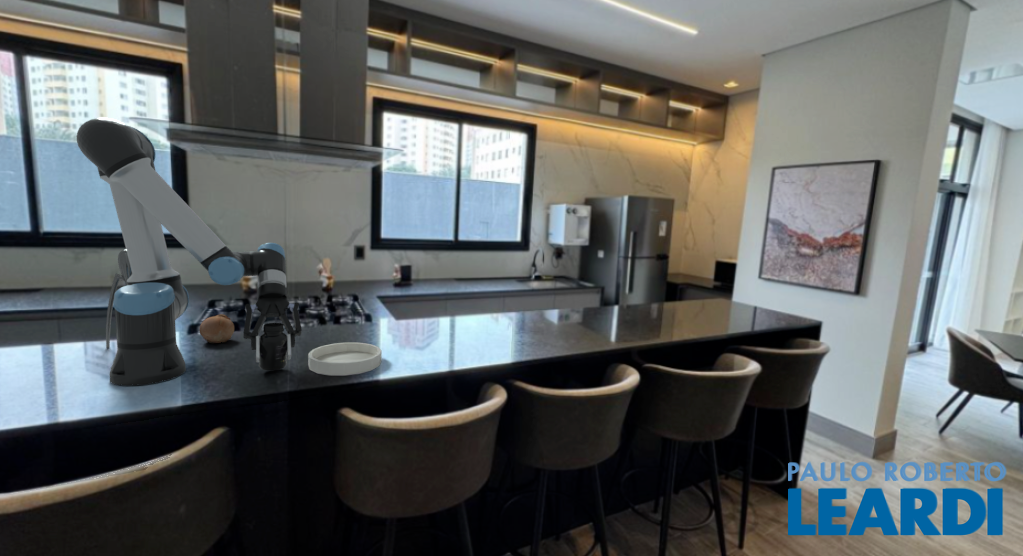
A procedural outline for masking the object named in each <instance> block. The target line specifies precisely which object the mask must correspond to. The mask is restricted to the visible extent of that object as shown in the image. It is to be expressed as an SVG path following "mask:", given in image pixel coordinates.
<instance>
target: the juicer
mask: <svg viewBox="0 0 1023 556" xmlns="http://www.w3.org/2000/svg"><path fill="white" fill-rule="evenodd" d="M117 263H118V269H119V271H120V273H119V274H118V273H115V274H114V277H113V281H112V284H111V287H110V292H109V297H108V303H107V304H108V305H107V312H106V325H105V347H106V349H108V348H111V347H110V345H111V344H110V342H111V340H110V339H111V324H112V314H113V308H114V306H113V305H114V304H113V302H114V295H115V292H116V291H117V290H118V285H119V282H121V281H122V282H124V283H125V286H127V285H128V284H127V280H128V279H129V277H130V276H131V275H132V270H131V266H130V262H129V258H128V254H127V250H126V249H122V250H121V251H119V253H118V256H117Z"/></svg>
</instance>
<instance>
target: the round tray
mask: <svg viewBox="0 0 1023 556" xmlns="http://www.w3.org/2000/svg"><path fill="white" fill-rule="evenodd" d="M307 360H308V362H307V363H308V365H307V366H308V369H309V370H310V371H312V372H314V373H316V374H319V375H325V376H351V375H359V374H364V373H367V372H370V371H373V370H375V369H377V368H378V367H380V365H381V364H382V349H381V348H380V347H379V346H377V345H374V344H371V343H365V342H338V343H337V342H336V343H331V344H326V345H321V346H318V347H316V348H313V349H312V350H310V351H309V352H308V355H307Z"/></svg>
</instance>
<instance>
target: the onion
mask: <svg viewBox="0 0 1023 556" xmlns="http://www.w3.org/2000/svg"><path fill="white" fill-rule="evenodd" d="M234 332H235V324H234V323H233V321H232V318H230V317H229V316H227V315H226V314H223V313H220V314H217V315H213V316H209V317H207V318H205V319H204V320H203V321H201V324H200V325H199V334H200V336H201V337H202V339H203V340H205V341H206V342H207V343H210V344H222V343H226V342H227V341H229V340H231V339H232V336H233V334H234ZM221 342H222V343H221Z"/></svg>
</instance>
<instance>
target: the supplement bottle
mask: <svg viewBox="0 0 1023 556" xmlns="http://www.w3.org/2000/svg"><path fill="white" fill-rule="evenodd" d="M284 331H285V327H284V325H283V323H282V322H269V323H265V324H263V333H262V334H261V335H259V362H258V367H259V369H260V370H262V371H279V370H282V369H284V368H285V367H286V366H288V365H287V364H288V357H287V334H286V333H284Z"/></svg>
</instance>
